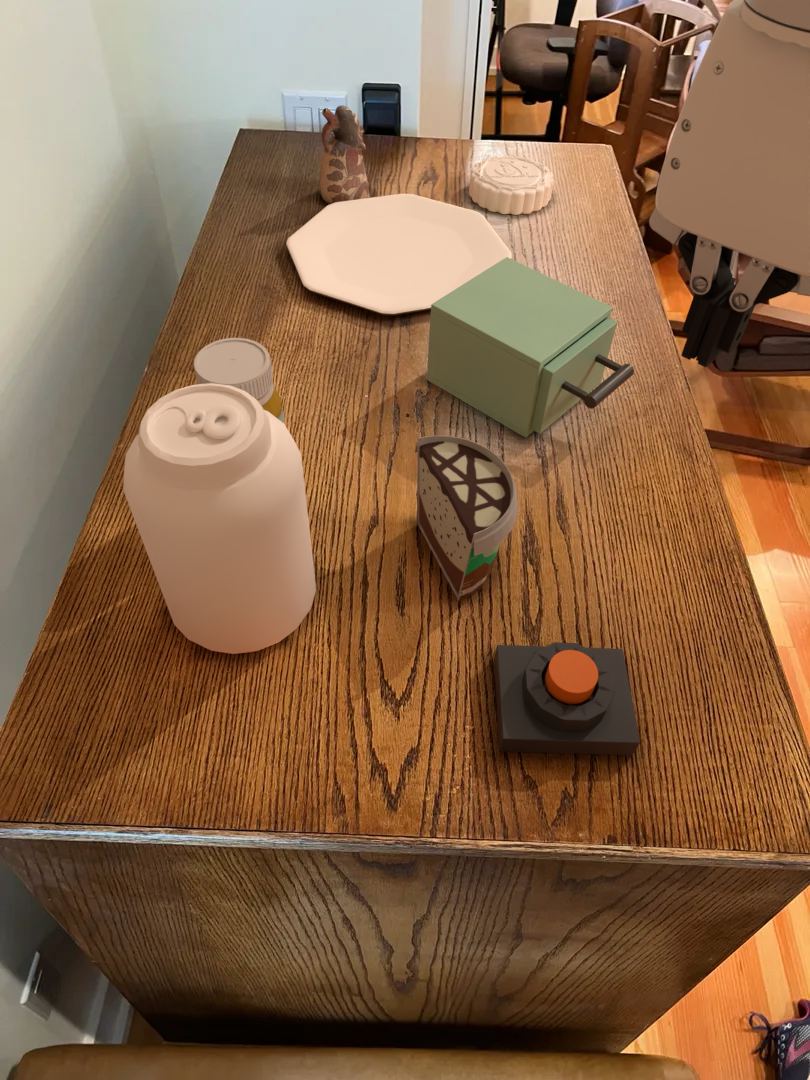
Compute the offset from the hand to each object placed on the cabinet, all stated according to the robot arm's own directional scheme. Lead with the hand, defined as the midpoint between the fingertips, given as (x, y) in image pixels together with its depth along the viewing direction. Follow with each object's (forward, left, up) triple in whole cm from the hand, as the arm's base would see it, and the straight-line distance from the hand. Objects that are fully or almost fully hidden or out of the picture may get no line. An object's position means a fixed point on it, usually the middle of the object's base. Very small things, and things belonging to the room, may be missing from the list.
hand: (705, 351), depth 46 cm
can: (+23, +21, -27) cm, 41 cm away
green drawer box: (+24, -18, -27) cm, 40 cm away
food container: (+12, +4, -27) cm, 30 cm away
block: (-3, +11, -27) cm, 29 cm away
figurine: (+67, -35, -27) cm, 81 cm away
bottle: (+32, +12, -27) cm, 43 cm away
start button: (-3, +11, -23) cm, 25 cm away
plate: (+50, -28, -27) cm, 64 cm away
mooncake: (+50, -52, -27) cm, 78 cm away
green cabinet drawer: (+21, -18, -26) cm, 38 cm away
